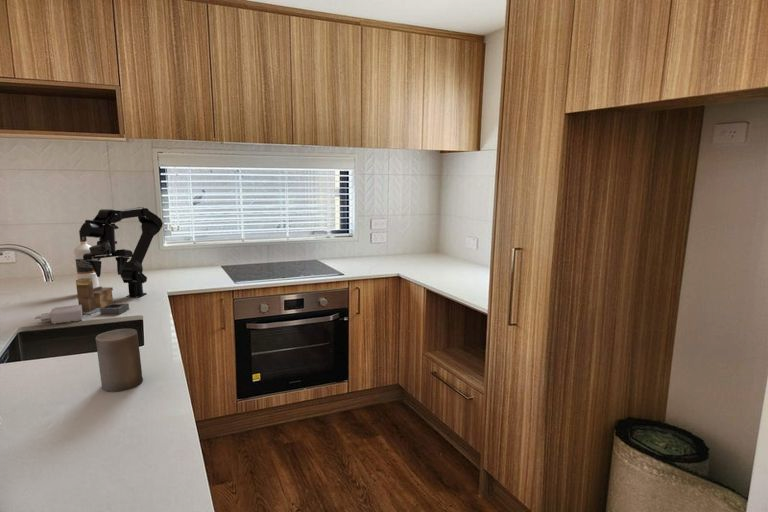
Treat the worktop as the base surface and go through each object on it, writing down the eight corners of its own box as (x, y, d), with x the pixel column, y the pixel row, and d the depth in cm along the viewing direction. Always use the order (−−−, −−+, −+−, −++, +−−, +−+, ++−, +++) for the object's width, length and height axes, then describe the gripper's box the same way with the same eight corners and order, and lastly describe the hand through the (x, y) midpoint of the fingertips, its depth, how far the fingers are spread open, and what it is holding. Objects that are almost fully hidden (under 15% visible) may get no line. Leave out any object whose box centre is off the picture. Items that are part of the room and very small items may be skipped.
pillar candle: (149, 376, 134) (143, 323, 132) (132, 391, 124) (125, 334, 122) (113, 377, 134) (106, 324, 131) (93, 393, 124) (86, 336, 122)
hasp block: (111, 309, 201) (110, 303, 201) (129, 309, 201) (128, 303, 200) (100, 314, 194) (100, 308, 193) (119, 314, 194) (118, 308, 193)
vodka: (100, 290, 234) (93, 228, 229) (101, 294, 226) (94, 229, 221) (77, 293, 229) (69, 229, 224) (78, 297, 221) (70, 231, 216)
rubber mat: (83, 309, 202) (83, 308, 202) (103, 309, 202) (103, 307, 202) (71, 314, 194) (71, 313, 194) (91, 314, 194) (91, 313, 194)
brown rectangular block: (85, 309, 200) (82, 278, 198) (95, 309, 200) (91, 278, 198) (79, 312, 196) (75, 280, 194) (89, 312, 196) (85, 280, 194)
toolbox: (96, 302, 212) (94, 285, 211) (114, 302, 212) (112, 285, 211) (82, 308, 203) (80, 290, 201) (101, 308, 203) (99, 290, 201)
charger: (37, 321, 187) (83, 315, 194) (34, 327, 179) (82, 321, 186) (35, 309, 186) (81, 303, 193) (32, 315, 178) (80, 309, 185)
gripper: (72, 239, 199) (74, 277, 198) (115, 234, 198) (117, 272, 196) (91, 242, 210) (93, 278, 209) (132, 237, 209) (134, 273, 207)
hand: (108, 275), depth 205 cm, fingers open, 9 cm apart
